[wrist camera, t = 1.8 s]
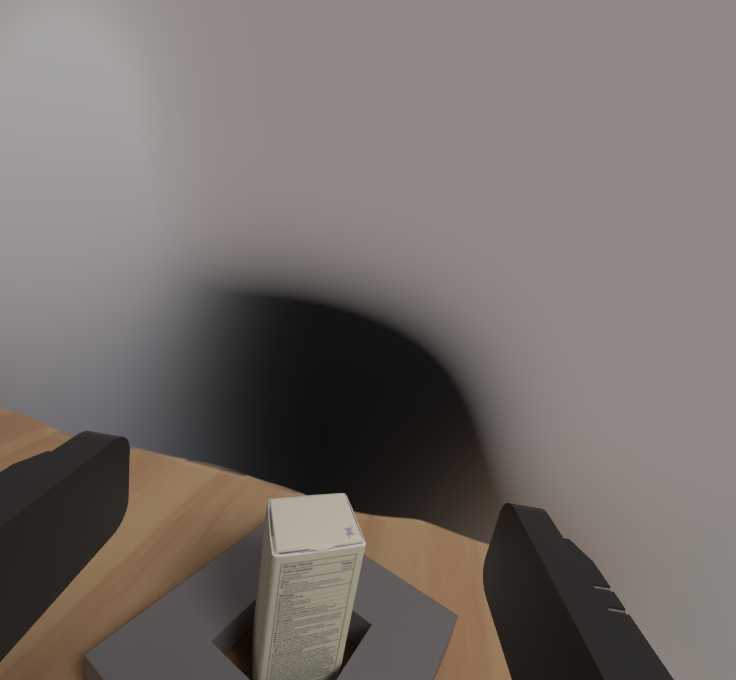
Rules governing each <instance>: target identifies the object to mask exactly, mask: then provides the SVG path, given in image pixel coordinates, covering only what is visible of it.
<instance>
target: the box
mask: <svg viewBox="0 0 736 680" xmlns="http://www.w3.org/2000/svg"><path fill="white" fill-rule="evenodd" d="M365 546H366V542H365V540H364V537H363V535H362V532H361V529H360V527H359V524H358V522H357V519H356V517H355V514H354V512H353V509H352V507H351V505H350V503H349V500H348V498H347V496H346V494H344V493H339V494H323V495H308V496H296V497H285V498H272V499H269V500H268V502H267V510H266V518H265V527H264V536H263V545H262V554H261V563H260V571H259V581H258V590H257V599H256V606H255V615H254V624H253V632H252V677H253V680H337V678H338V676H339V674H340V670H341V665H342V660H343V654H344V650H345V644H346V639H347V634H348V629H349V625H350V619H351V614H352V609H353V604H354V599H355V595H356V590H357V585H358V580H359V575H360V570H361V565H362V560H363V555H364V551H365Z"/></svg>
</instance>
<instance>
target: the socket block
mask: <svg viewBox="0 0 736 680" xmlns="http://www.w3.org/2000/svg"><path fill="white" fill-rule="evenodd" d="M264 527H265V523H263V524H262V525H261V526H259V527H258V528H257V529H255V530H254V531H252V532H251V533H250V534H248V535H247V536H246V537H244V538H243V539H242V540H240V541H239V542H237V543H236V544H235V545H233V546H232V547H231V548H229V549H228V550H226V551H225V552H224V553H222V554H221V555H220V556H218V557H217V558H216V559H214V560H213V561H211V562H210V563H209V564H207V565H206V566H205V567H203V568H202V569H201V570H199V571H198V572H196V573H195V574H194V575H192V576H191V577H190V578H188V579H187V580H186V581H184V582H183V583H181V584H180V585H179V586H177V587H176V588H175V589H173V590H172V591H171V592H169V593H168V594H166V595H165V596H164V597H162V598H161V599H160V600H158V601H157V602H155V603H154V604H153V605H151V606H150V607H149V608H147V609H146V610H145V611H143V612H142V613H140V614H139V615H138V616H136V617H135V618H134V619H132V620H131V621H130V622H128V623H127V624H125V625H124V626H123V627H121V628H120V629H119V630H117V631H116V632H115V633H113V634H112V635H110V636H109V637H108V638H106V639H105V640H104V641H102V642H101V643H100V644H98V645H97V646H95V647H94V648H93V649H91V650H90V651H89V652H87V653H86V654H84V674H85V680H249V679H248V678H247V677H246V676H245V675H244V674H243V673H242V672H241V671H240V670H239V669H238V668H237V667H236V666H235V665H234V664H233V663H232V662H231V661H230V660H229V659H228V658H227V657H226V656H225V654H226V653H227V652H228V651H229V650H230V649H231V648H232V647H233V646H234V645H235V644H236V643H237V642H238V641H239V640H240V639H241V638H242V637H243V636H244V635H245V634H246V633H247V632H248V631H249V630H250V629H251V628H252V627H253V624H254V615H255V606H256V599H257V590H258V581H259V571H260V563H261V554H262V545H263V536H264ZM457 617H458V615H456V614H455V613H453V612H452V611H450V610H449V609H447V608H445V607H444V606H442V605H441V604H439V603H438V602H436V601H435V600H433V599H432V598H430V597H428V596H427V595H425V594H424V593H422V592H421V591H419V590H418V589H416V588H415V587H413V586H412V585H410V584H408V583H407V582H405V581H404V580H402V579H401V578H399V577H398V576H396V575H395V574H393V573H392V572H390V571H388V570H387V569H385V568H384V567H382V566H381V565H379V564H378V563H376V562H375V561H373V560H372V559H370V558H368V557H367V556H365V555H363V560H362V565H361V570H360V575H359V580H358V585H357V590H356V595H355V599H354V604H353V609H352V614H351V619H350V625H349V629H348V634H347V639H348V640H350V641H351V642H352V643H353V644H355V645H356V646H357V649H356V650H355V652H354V653H353V655H352V656H351V658H350V659H349V661H348V663H347V664H346V666H345V667H344V669H343V670H342V672H341V673H340V675H339V676H338V678H337V680H434V679H435V677H436V674H437V672H438V669H439V667H440V664H441V662H442V659H443V657H444V654H445V652H446V649H447V647H448V645H449V642H450V639H451V636H452V633H453V630H454V626H455V623H456V620H457Z"/></svg>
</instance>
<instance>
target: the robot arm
mask: <svg viewBox="0 0 736 680" xmlns="http://www.w3.org/2000/svg"><path fill="white" fill-rule="evenodd" d="M129 456H130V446H129V442H128V440H127V439H126V438H125V437H120V436H114V435H108V434H103V433H97V432H90V431H84V432H81V433H79V434H78V435H76V436H75V437H73V438H72V439H70V440H68V441H67V442H65V443H64V444H62V445H61V446H59V447H58V448H56V449H55V450H53V451H52V452H51V451H47V452H44V453H41V454H39V455H36V456H33V457H31V458H28V459H26V460H23V461H20V462H18V463H15V464H13V465H11V466H9V467H8V468H6V469H5V470H3V471H1V472H0V662H1V661H2V659H3V658H4V657H5V656H6V655H7V654H8V653H9V652H10V650H11V649H12V648H13V647H14V646H15V645H16V644H17V642H18V641H19V640H20V639H21V638H22V637H23V636H24V635H25V633H26V632H27V631H28V630H29V629H30V628H31V627H32V626H33V624H34V623H35V622H36V621H37V620H38V619H39V618H40V617H41V615H42V614H43V613H44V612H45V611H46V610H47V609H48V608H49V606H50V605H51V604H52V603H53V602H54V601H55V600H56V599H57V597H58V596H59V595H60V594H61V593H62V592H63V591H64V590H65V588H66V587H67V586H68V585H69V584H70V583H71V582H72V580H73V579H74V578H75V577H76V576H77V575H78V574H79V573H80V571H81V570H82V569H83V568H84V567H85V566H86V565H87V564H88V562H89V561H90V560H91V559H92V558H93V557H94V556H95V555H96V553H97V552H98V551H99V550H100V549H101V548H102V547H103V546H104V544H105V543H106V542H107V541H108V540H109V539H110V538H111V537H112V535H113V534H114V533H115V532H116V530H117V529H118V527H119V526H120V524H121V522H122V520H123V518H124V515H125V512H126V509H127V505H128V494H129ZM483 585H484V591H485V595H486V599H487V602H488V605H489V608H490V611H491V615H492V618H493V621H494V624H495V627H496V630H497V634H498V637H499V640H500V643H501V646H502V650H503V653H504V656H505V659H506V662H507V665H508V669H509V672H510V675H511V678H512V680H674V679H673V678H672V677H671V675H670V674H669V672H668V671H667V669H666V668H665V666H664V665H663V663H662V662H661V660H660V659H659V657H658V656H657V655H656V653H655V652H654V650H653V649H652V648H651V646H650V644H649V643H648V641H647V640H646V639H645V637H644V635H643V634H642V633H641V631H640V630H639V628H638V627H637V625H636V624H635V622H634V621H633V619H632V618H631V616H630V615H627V614H626V613H625V608H624V606H623V605H622V603H621V602H620V601H619V599H618V597H617V596H616V595H615V593H614V592H611V591H610V586H609V584H608V583H607V581H606V580H605V578H604V577H603V576H602V574H601V573H600V571H599V570H598V568H597V567H596V565H595V564H594V562H593V561H592V560H591V559H590V558H589V557H587V555H585V554H584V553H583V552H582V551H581V550H580V549H579V548H578V547H577V546H576V545H575V544H574V543H573V542H571V541H570V540H569V539H565V538H563V537H562V535H561V534H560V532H559V531H558V529H557V528H556V526H555V525H554V523H553V521H552V520H551V518H550V517H549V515H548V514H547V512H546V511H545V510H543V509H540V508H534V507H528V506H522V505H516V504H510V503H506V504H505V505H504V506H503V507H502V509H501V511H500V514H499V517H498V520H497V523H496V526H495V529H494V533H493V536H492V539H491V542H490V545H489V548H488V551H487V555H486V558H485V561H484V568H483Z"/></svg>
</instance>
